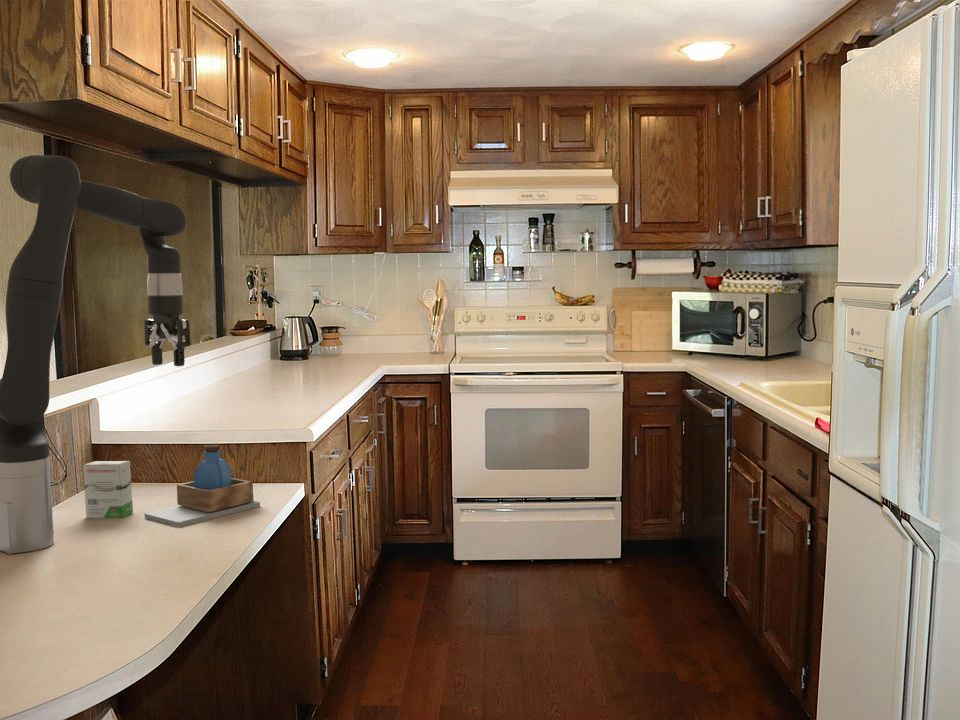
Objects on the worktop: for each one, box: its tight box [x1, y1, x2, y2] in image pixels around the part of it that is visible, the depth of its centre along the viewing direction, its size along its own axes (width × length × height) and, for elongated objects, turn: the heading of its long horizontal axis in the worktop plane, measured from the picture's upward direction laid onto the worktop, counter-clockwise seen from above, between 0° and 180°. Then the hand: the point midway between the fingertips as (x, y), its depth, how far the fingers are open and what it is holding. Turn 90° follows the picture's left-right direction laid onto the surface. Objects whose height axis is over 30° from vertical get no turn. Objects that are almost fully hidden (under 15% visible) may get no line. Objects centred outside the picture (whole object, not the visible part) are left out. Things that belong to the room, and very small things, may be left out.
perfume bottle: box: [193, 444, 232, 490], centre depth 193 cm, size 6×6×12 cm
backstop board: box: [144, 482, 261, 527], centre depth 192 cm, size 21×12×5 cm, turn 143°
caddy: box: [176, 477, 253, 512], centre depth 194 cm, size 12×12×4 cm
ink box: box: [82, 460, 134, 519], centre depth 190 cm, size 9×5×12 cm, turn 84°
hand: (168, 365), depth 197 cm, fingers open, 8 cm apart
